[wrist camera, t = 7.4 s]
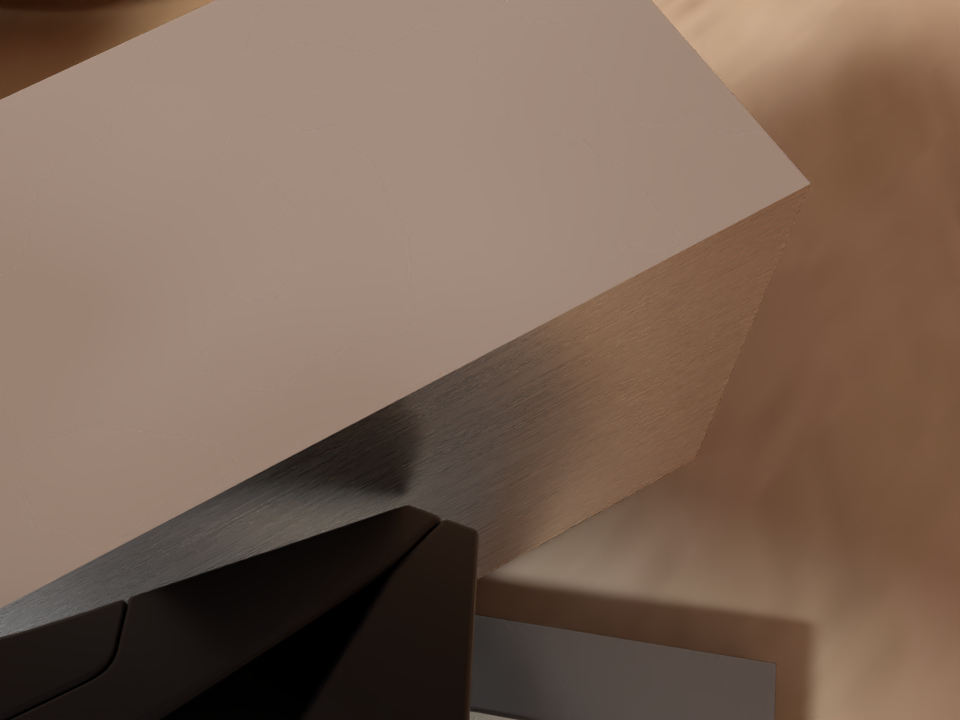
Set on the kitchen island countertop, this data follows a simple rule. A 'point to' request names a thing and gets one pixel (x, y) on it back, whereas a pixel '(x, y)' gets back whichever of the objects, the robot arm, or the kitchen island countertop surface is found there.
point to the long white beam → (363, 281)
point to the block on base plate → (608, 678)
